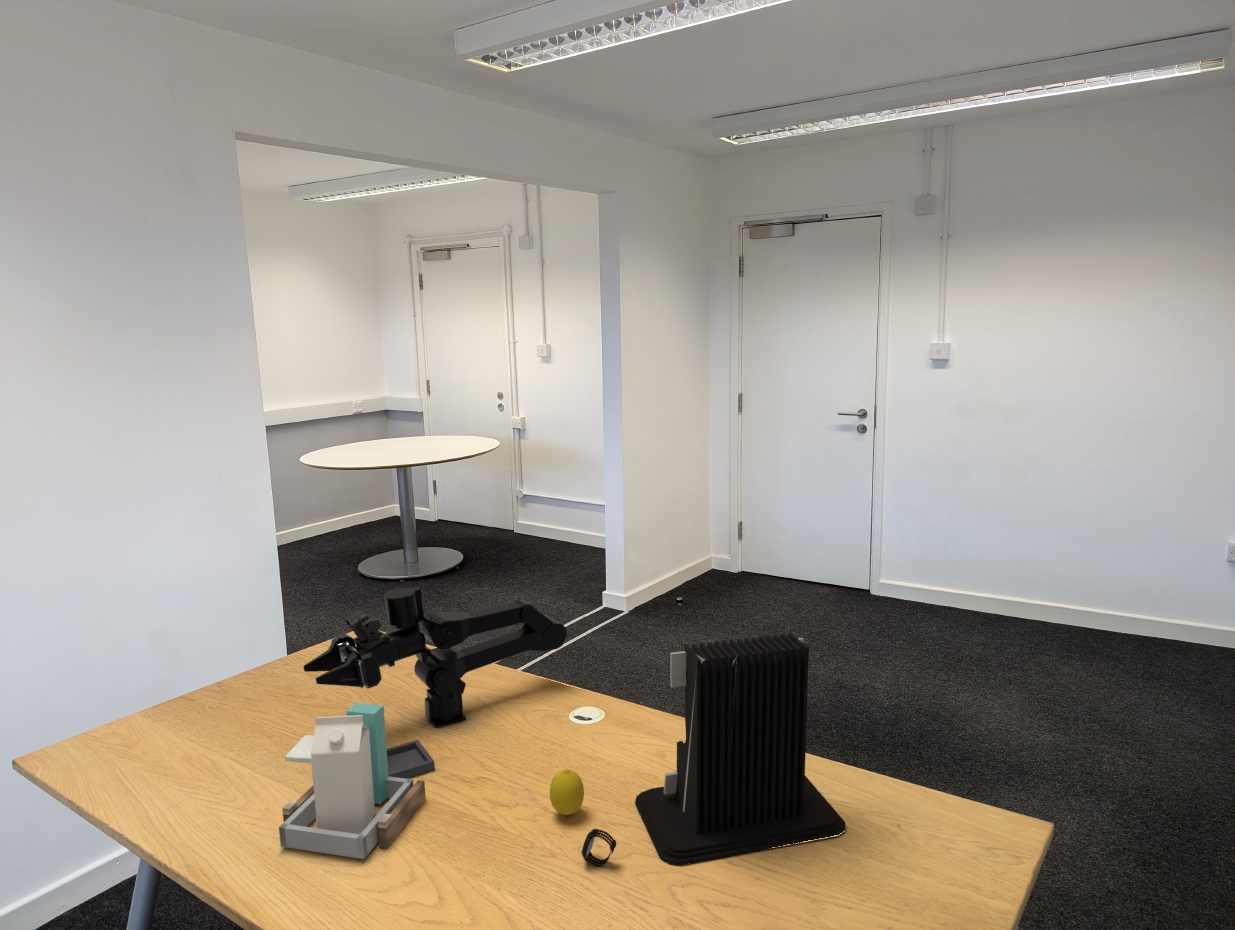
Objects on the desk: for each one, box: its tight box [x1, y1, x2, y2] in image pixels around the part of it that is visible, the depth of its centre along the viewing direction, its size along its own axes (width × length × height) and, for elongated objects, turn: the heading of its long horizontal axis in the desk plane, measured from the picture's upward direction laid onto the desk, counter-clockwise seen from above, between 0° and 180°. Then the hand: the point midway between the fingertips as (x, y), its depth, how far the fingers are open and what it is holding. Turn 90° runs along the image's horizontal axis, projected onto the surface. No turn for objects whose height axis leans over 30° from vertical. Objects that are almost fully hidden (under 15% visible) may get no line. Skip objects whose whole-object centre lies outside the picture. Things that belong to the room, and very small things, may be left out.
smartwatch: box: [581, 828, 617, 868], centre depth 118 cm, size 4×5×5 cm
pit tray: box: [387, 739, 436, 779], centre depth 145 cm, size 9×9×2 cm
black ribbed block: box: [634, 632, 847, 866], centre depth 127 cm, size 30×19×30 cm, turn 104°
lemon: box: [549, 768, 585, 817], centre depth 129 cm, size 6×6×8 cm
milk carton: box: [311, 715, 376, 834], centre depth 126 cm, size 7×7×19 cm
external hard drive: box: [284, 734, 314, 763], centre depth 150 cm, size 2×8×12 cm
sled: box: [278, 702, 414, 860], centre depth 127 cm, size 16×14×16 cm
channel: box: [282, 779, 427, 850], centre depth 130 cm, size 13×18×4 cm
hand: (309, 674), depth 145 cm, fingers open, 9 cm apart
